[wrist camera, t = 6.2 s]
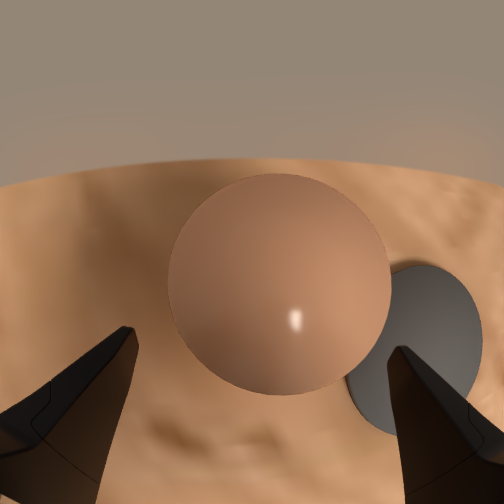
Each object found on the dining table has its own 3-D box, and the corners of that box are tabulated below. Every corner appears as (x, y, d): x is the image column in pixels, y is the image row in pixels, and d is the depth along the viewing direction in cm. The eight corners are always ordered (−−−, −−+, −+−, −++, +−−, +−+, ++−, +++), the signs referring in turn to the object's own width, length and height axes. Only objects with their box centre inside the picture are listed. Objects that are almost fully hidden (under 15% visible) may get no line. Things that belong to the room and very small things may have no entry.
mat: (493, 349, 17) (498, 349, 17) (399, 462, 15) (404, 466, 14) (425, 236, 20) (430, 233, 19) (307, 345, 18) (310, 346, 17)
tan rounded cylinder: (313, 323, 18) (425, 295, 6) (249, 371, 17) (260, 439, 5) (266, 261, 19) (299, 143, 7) (202, 307, 18) (128, 250, 6)
